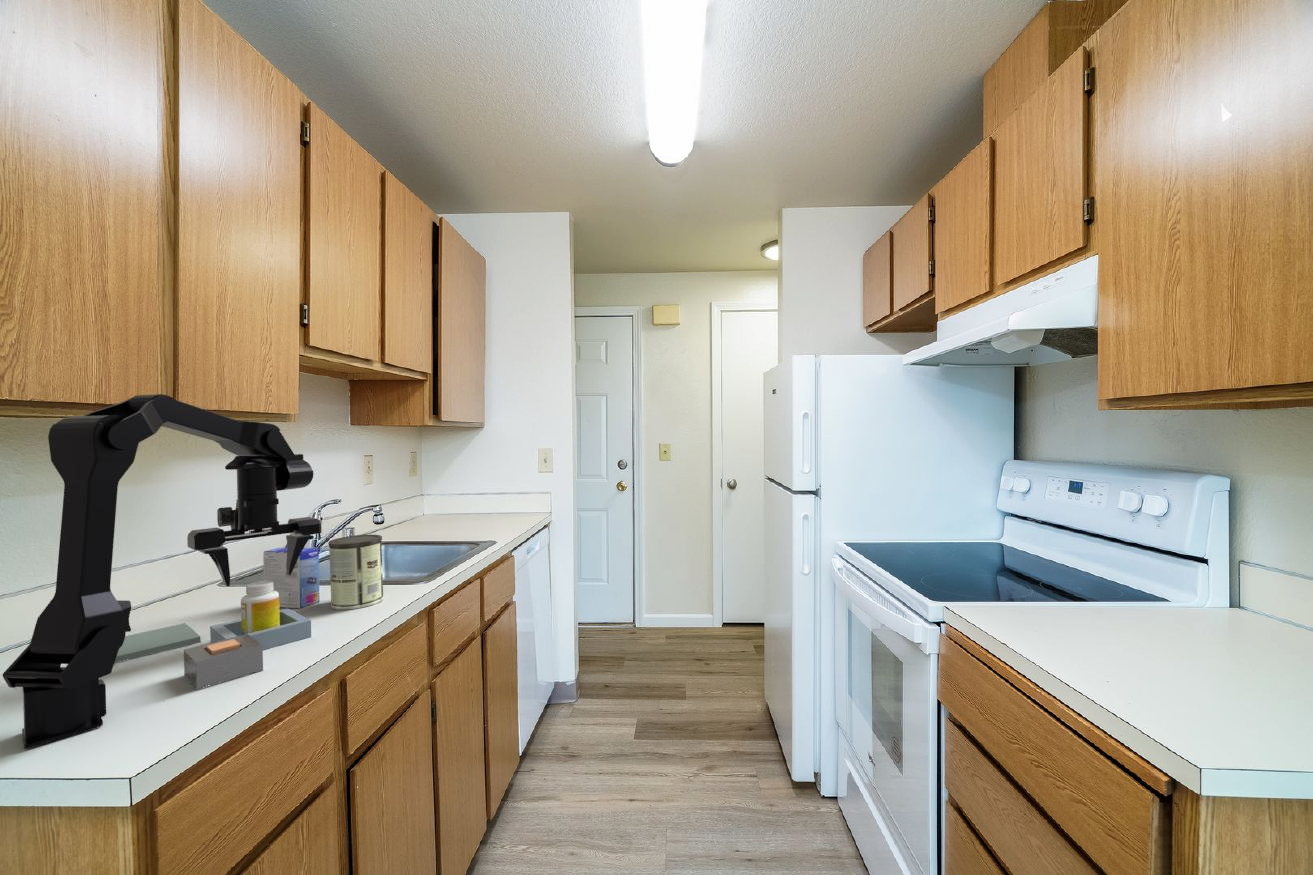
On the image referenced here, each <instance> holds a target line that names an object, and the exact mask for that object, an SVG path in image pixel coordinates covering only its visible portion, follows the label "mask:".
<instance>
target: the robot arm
mask: <svg viewBox="0 0 1313 875" xmlns="http://www.w3.org/2000/svg"><path fill="white" fill-rule="evenodd" d="M161 427H163V428H167V429H170V430H174V431H177V432H181V433H184V434H185V433H186V434H188V435H191V436H195V437H199V438H203V439H207V440H211V441H213V442H215V443H217V444H219V446H220V447H221V448H222V449H223V450H225V451H227V452H229V453H231V454H234V455H235V457H234V458H233V460H231V461H230V462H228V463H227V464H226V466H225V468H224V469H225V470H228V471H231V470H236V491H237V492H236V494H237V495H236V496H237V499H236V502H235V505H236V506H235V509H233V507H232V506H228V507H227V506H226V507H225V506H224V507H219V508H217V510H216V511H217V512H216V514H217V515H216V517H217V526H218V527H210V528H202V529H201V528H200V529H194V530H193V529H192V530H191V531H190V532H189V533H188V534H187V547H188V548H189V549H191V550H193V551H198V552H200V553H202V554H204V555H208V556H209V557H210V558H211V560H212V562H213V563H214V564H215V566H216V568H217V571H218V573H219V574H220V578H221V579H222V582H223V583H224V585H225V587H230V584H231V570H230V562H229V550H228V548H227V547H224V544H225V543H226V542H232V541H240V540H247V539H255V538H263V537H270V536H271V537H272V536H277V535H285V534H287V535H285V538H286V544H288V547H287V562H286V570H287V575H291V574H292V571H293V569H294V567H295V564H296V562H297V560H298V558H299V556H300V553H301V552H302V550H303V548H304V547H306V545H307V543H308V541H309V540H314V539H315V538H314V537H315V536H314V535H317V534H322V522H321V521H320V520H319V519H318V518H315V517H310V516H307V517H306V516H305V517H296V518H288V521H287V523H282V524H280V521H278V505H279V503H280V502H279V500H280V499H279V498H278V497H277V496H278V495H277V494H278V493H277V491H278V492H279V491H281V492H282V491H287V490H295V489H303V488H306V487H308V486H309V485H311V484H312V481H313V478H314V470H313V469H312V466H311V465H310V463H309V462H308V461H306V460H305V459H304V454H303V453H294V451H293V449H292V448H291V447H290V445H289V443H288V442H287V440H286V439H285V437H284V436H283V433H282V432H281V428H279V427H278V426H277V425H276V424H273V423H270V422H269V423H267V422H259V421H247V420H239V419H238V420H237V419H234V418H231V417H229V416H225V415H222V414H219V413H216V412H214V411H210V410H207V409H204V408H201V407H198V406H195V405H193V404H189V403H186V402H183V401H182V400H181V401H180V400H177V399H175V398H174V397H171V396H170V395H168V394H163V393H157V394H153V393H152V394H138V395H137V394H136V395H134V396H133V397H130V398H128V399H126V400H124V401H122V402H119V403H117V404H112V405H110V406H106V407H103V408H100V409H97V410H95V411H90V412H88V413H86V414H84V415H77V416H76V415H75V416H74V415H72V416H68V417H64V418H62V419H61V420H59V421H57V422H56V423H54V424H52V425H51V426H50V429H49V432H48V435H47V436H48V437H47V438H48V447H49V454H50V455H49V456H50V461H51V463H52V465H53V466H54V468H55V469H56V471H57V473H58V475H59V476H60V477H61V479H62V481H63V486H64V488H63V498H62V512H61V524H60V535H59V547H58V560H57V571H56V581H55V583H56V584H55V593H54V596H53V598H52V599H51V600H50V601H49V602H48V604H47V605H46V606H45V608H44V609H43V610H42V612H41V613H40V614H39V615H38V617H37V619H36V622H35V626H34V629H33V633H32V635H31V639H30V643H29V644H28V646H27V647H26V648H25V649H24V650H22V652H21V653H20V654H19V655H18V657H17V658H16V659H15V660H14V661H13V662H12V663H11V664H10V665H9V666H8V667H7V669H5V670H4V672H3V673H2V679H3V680H4V681H5V683H6V684H7V686H8V688H11V689H12V688H13V689H16V688H22V700H23V701H22V702H23V704H22V706H23V711H22V712H23V728H21V729H22V730H21V732H22V733H21V734H22V735H21V736H22V743H23V749H25V750H26V749H31V748H35V747H37V746H40V745H44V744H47V743H50V742H53V741H57V740H60V739H64V738H66V737H70V736H73V735H76V734H80V733H83V732H86V731H90V730H93V729H96V728H99V727H101V726H103V725H104V720H103V717H105V716H106V715H107V692H106V691H107V690H106V689H107V688H106V685H107V684H106V683H105V681H104V679H102V678H103V677H105V676H108V675H111V674H112V671H113V669H114V666H115V664H116V663H115V660H116V657H117V654H118V651H119V648H121V647H122V645H123V643H124V639H125V636H127V635H126V632H127V633H128V632H131V631H132V628H131V625H130V614H131V610H132V602H131V601H130V600H120V599H119V600H117V598H116V596H114V594H113V592H112V590H111V582H112V570H113V569H112V568H113V556H114V555H113V554H114V542H115V529H116V515H117V503H118V501H117V500H118V490H119V488H118V487H119V482H120V481H121V479H123V477H124V476H125V474H126V473H127V472H128V470H129V469H130V467H131V466H132V465H133V464H134V462H135V459H136V455H137V452H138V449H139V444H140V443H142V442H143V441H145V440H146V439H148V438H150V437H152V436H154V435H155V434H157V432H158V431H159V430H160V428H161ZM228 526H229V527H230V530H229V529H228V530H224V529H222V528H223V527H228ZM221 527H222V528H221ZM62 665H66V666H62Z"/></svg>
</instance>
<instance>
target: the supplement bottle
mask: <svg viewBox="0 0 1313 875" xmlns="http://www.w3.org/2000/svg"><path fill="white" fill-rule="evenodd" d="M273 590H274V587H273V581H263V580H261V581H254V582H250V583H248V584H247V585H246V586H245V594H244V596H242V597H241V599H240V617H241V618H240V619H241V622H242V635H245V634H249V633H253V632H257V631H261V630H265V629H269V628H273V627H277V626H280V613H279V610H280V607H279V593H278V592H277V591H273Z"/></svg>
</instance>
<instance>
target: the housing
mask: <svg viewBox="0 0 1313 875" xmlns="http://www.w3.org/2000/svg"><path fill="white" fill-rule="evenodd" d="M279 613H280V626H277V627H273V628H269V629H265V630H261V631H257V632H253V633H249V634H248V635H249V636H251V637H252V638H254V639H255V640H256V641H258V642H259V643H261V644H262V645H263V651H264V650H267V649H268V650H269V649H271V648H274V647H275V646H276V647H280V646H282V645H286V644H290V643H294V642H298V641H300V640H305V639H309V638H312V620H311V619H309V618H307V617H305V616H304V615H301V614H300V613H297V612H296V611H294V610H292V609H290V608H287V607H286V608H283V609H279ZM209 633H210V634H209V637H210V640H209V641H210V643H212V642H217V641H221V640H225V639H229V638H233V637H237V636H241V635H242V622H241V618H239V619H234V620H231V621H225V622H222V623H218V624H214V625H210V626H209Z"/></svg>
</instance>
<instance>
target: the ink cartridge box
mask: <svg viewBox="0 0 1313 875" xmlns="http://www.w3.org/2000/svg"><path fill="white" fill-rule="evenodd" d="M287 547H288V544H287V543H286V544H285V546H284V547H277V548H272V549H268V550H264V551H263V554H262V557H263V558H262V559H263V566H262V567H263V568H262V569H263V577H262V578H263V580H262V581H273V587H274V590H273V591H277V592H278V593H279V608H286V609H287V608H288V609H290V608H291V609H292V608H293V609H301V608H304V607H307V606H310V605H314V604H317V603H320V550H319V549H320V548H319V547H317V546H316V547H311V546H310V547H309V546H307V547H306V546H305V547H304V548H303V550H302V552H301V553H300V556H299V558H298V560H297V562H296V564H295V567H294V569H293V571H292V574H291V575H287V570H286V562H287Z"/></svg>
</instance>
